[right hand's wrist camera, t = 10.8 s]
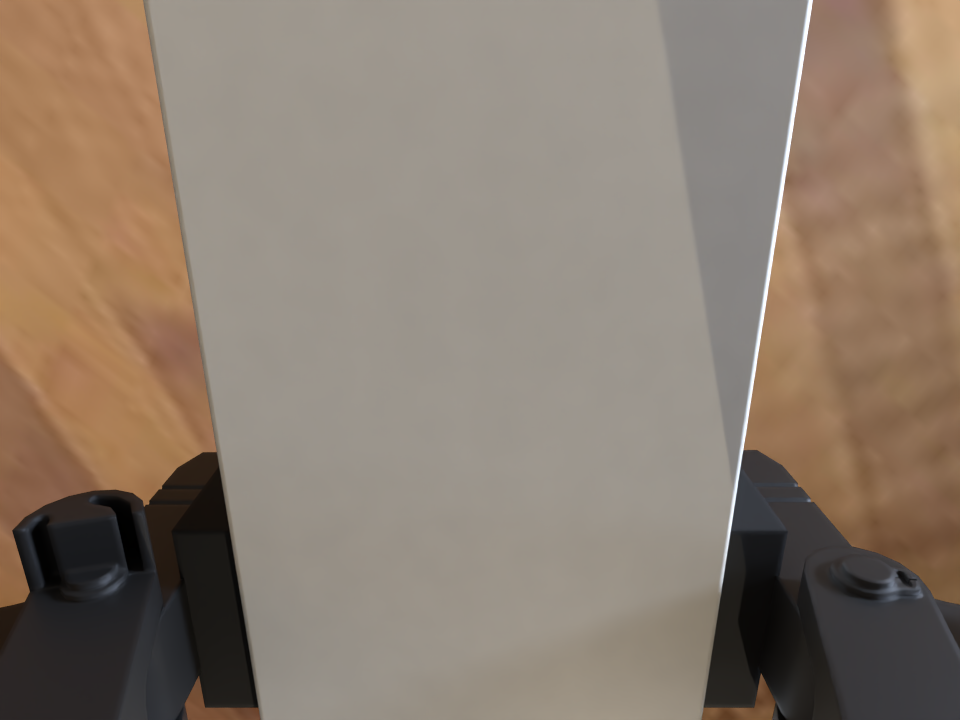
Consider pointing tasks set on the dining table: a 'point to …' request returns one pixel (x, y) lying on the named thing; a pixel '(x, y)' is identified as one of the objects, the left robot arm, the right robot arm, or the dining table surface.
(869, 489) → the dining table surface
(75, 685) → the right robot arm
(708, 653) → the post
